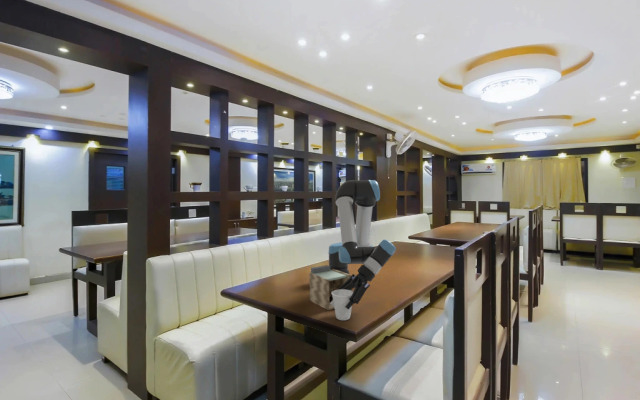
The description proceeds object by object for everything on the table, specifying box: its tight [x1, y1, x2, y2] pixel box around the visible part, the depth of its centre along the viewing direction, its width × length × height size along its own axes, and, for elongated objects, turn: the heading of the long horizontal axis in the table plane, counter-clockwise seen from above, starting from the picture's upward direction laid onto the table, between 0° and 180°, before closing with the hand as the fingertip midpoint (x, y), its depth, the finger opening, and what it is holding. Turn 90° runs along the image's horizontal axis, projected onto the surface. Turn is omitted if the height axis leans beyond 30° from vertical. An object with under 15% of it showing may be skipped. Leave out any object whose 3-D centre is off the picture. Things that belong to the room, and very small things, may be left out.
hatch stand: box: [309, 269, 353, 311], centre depth 156 cm, size 16×15×14 cm
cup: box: [331, 289, 354, 321], centre depth 137 cm, size 10×10×11 cm
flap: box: [308, 264, 347, 281], centre depth 158 cm, size 15×12×3 cm
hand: (336, 309), depth 136 cm, fingers closed on cup, 9 cm apart
